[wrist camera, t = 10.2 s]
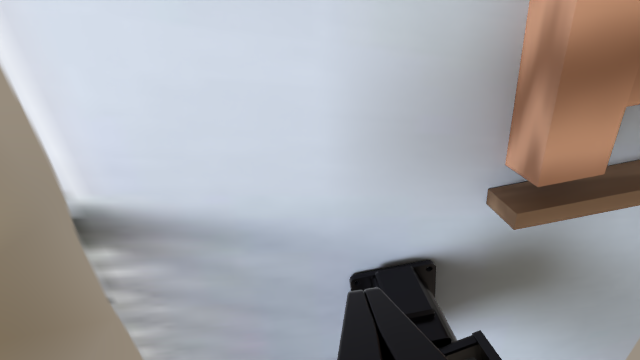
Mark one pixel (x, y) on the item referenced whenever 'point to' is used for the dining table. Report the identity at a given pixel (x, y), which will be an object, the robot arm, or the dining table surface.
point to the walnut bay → (567, 197)
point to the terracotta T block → (573, 87)
